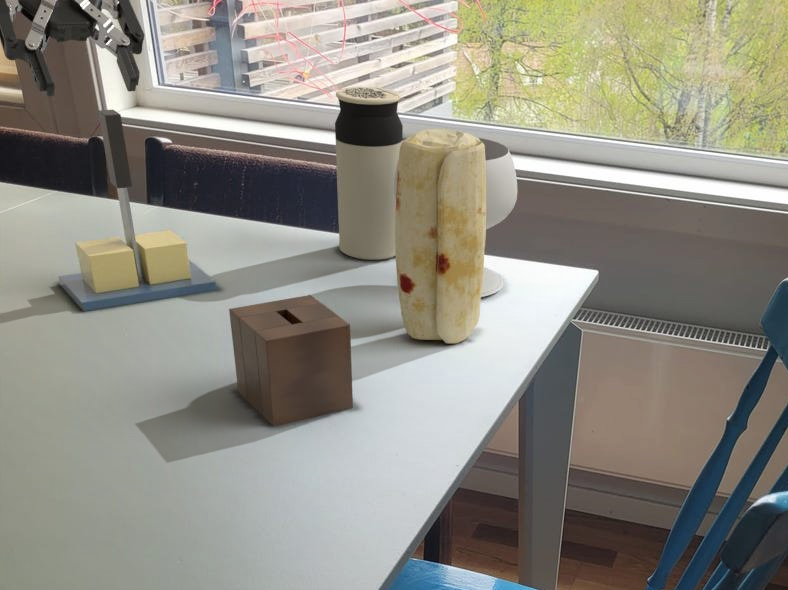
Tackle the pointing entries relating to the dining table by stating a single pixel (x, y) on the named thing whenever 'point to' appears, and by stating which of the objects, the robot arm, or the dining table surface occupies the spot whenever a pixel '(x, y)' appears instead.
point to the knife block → (292, 359)
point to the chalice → (494, 198)
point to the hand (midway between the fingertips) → (92, 89)
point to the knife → (119, 173)
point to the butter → (133, 271)
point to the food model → (440, 233)
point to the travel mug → (367, 170)
